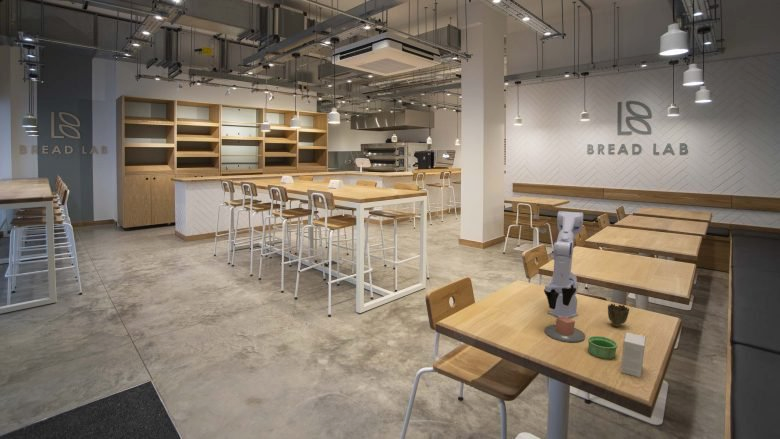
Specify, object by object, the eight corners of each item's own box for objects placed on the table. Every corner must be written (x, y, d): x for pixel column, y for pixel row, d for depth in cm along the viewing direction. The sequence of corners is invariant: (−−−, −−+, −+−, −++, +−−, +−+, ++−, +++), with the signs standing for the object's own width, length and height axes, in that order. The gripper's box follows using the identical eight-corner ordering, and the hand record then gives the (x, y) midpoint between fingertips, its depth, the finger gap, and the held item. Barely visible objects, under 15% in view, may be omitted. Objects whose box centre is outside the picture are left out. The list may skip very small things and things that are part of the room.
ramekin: (605, 362, 133) (606, 349, 132) (581, 350, 141) (582, 338, 140) (622, 356, 137) (623, 344, 136) (598, 345, 145) (599, 333, 144)
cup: (626, 324, 163) (628, 305, 162) (628, 331, 156) (630, 311, 155) (605, 321, 166) (607, 302, 165) (606, 327, 159) (608, 308, 158)
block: (562, 328, 156) (563, 316, 155) (573, 333, 152) (574, 321, 151) (555, 330, 154) (556, 318, 154) (566, 335, 150) (567, 323, 149)
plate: (562, 324, 163) (562, 322, 162) (593, 338, 150) (593, 336, 150) (536, 330, 156) (536, 328, 156) (567, 345, 144) (567, 343, 144)
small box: (622, 361, 133) (625, 331, 131) (642, 367, 130) (646, 336, 128) (620, 372, 127) (623, 340, 125) (641, 378, 123) (644, 345, 122)
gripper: (556, 278, 147) (554, 313, 149) (583, 272, 154) (580, 306, 156) (541, 272, 153) (539, 307, 155) (567, 268, 160) (565, 300, 162)
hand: (558, 306), depth 156 cm, fingers open, 7 cm apart
